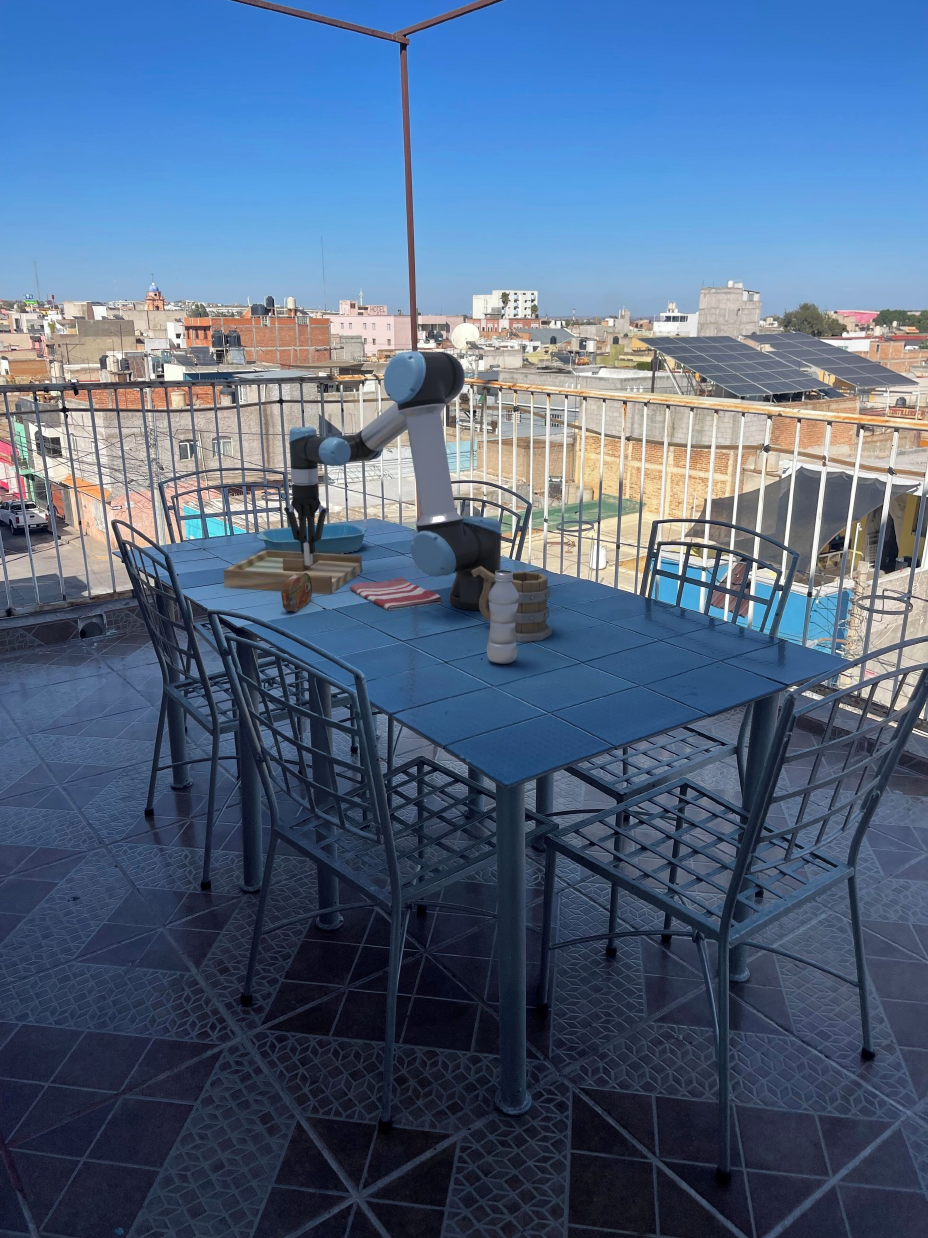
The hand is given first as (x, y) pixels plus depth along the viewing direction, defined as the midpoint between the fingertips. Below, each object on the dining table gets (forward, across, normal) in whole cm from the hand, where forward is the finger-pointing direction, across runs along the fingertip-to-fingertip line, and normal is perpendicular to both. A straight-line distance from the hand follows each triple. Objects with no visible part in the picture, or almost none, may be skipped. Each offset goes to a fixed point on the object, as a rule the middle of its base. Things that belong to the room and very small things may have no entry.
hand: (308, 564), depth 247 cm
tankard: (+5, -65, +34) cm, 73 cm away
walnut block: (+2, +4, 0) cm, 4 cm away
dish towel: (+5, -30, +11) cm, 32 cm away
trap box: (+5, +3, 0) cm, 6 cm away
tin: (+5, -8, +27) cm, 29 cm away
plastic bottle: (+5, -67, +56) cm, 87 cm away
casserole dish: (+5, +13, -37) cm, 39 cm away
